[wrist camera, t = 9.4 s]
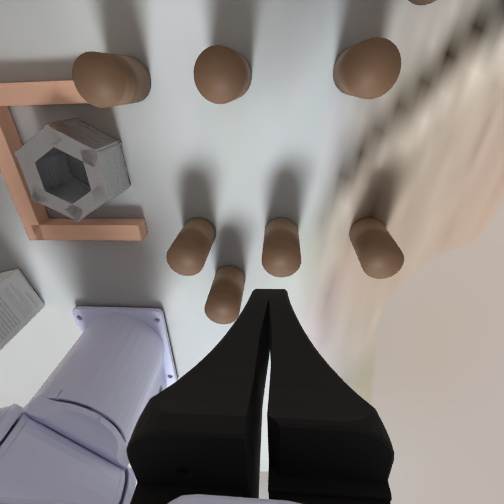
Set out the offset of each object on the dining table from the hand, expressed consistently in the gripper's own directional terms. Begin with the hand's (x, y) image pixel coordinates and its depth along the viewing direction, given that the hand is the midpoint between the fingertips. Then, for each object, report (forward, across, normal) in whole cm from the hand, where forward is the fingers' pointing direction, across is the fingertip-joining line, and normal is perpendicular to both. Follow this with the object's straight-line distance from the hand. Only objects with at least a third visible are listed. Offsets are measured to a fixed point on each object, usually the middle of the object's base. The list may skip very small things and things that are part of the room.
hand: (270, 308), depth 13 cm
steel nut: (+10, +12, -4) cm, 17 cm away
